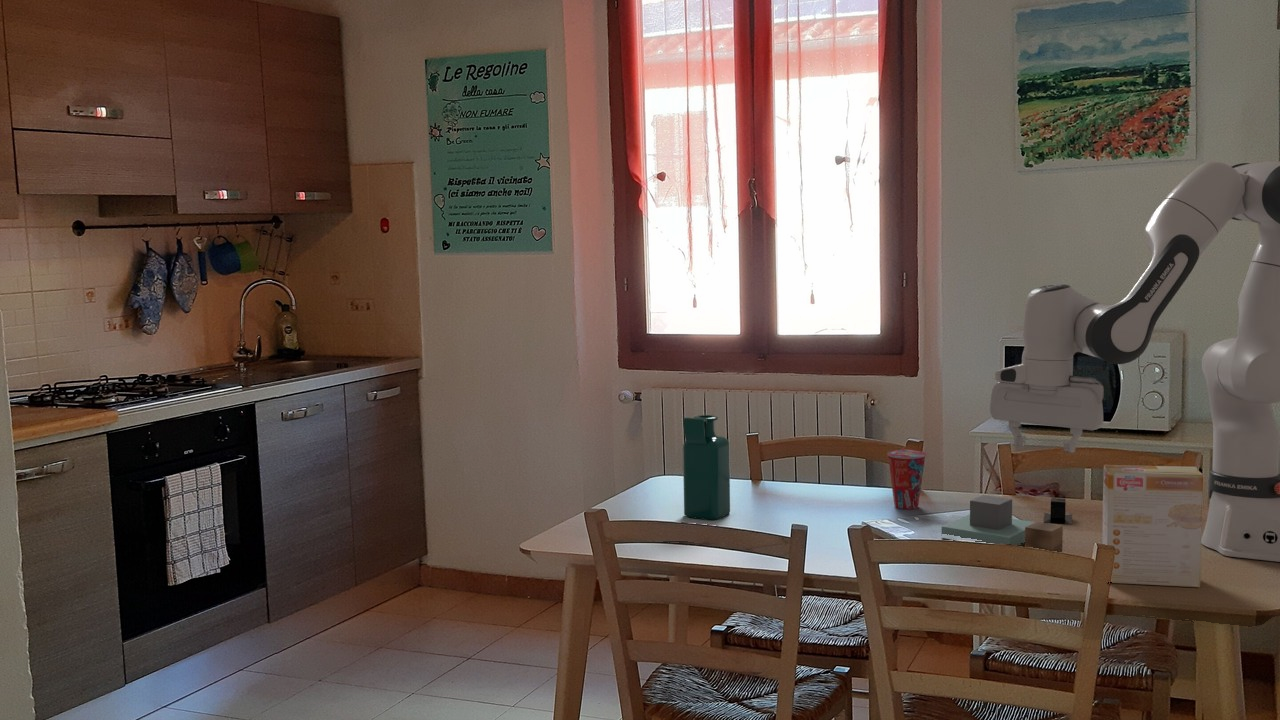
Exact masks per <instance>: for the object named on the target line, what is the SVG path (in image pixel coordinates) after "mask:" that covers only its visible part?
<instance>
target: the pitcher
mask: <svg viewBox="0 0 1280 720" xmlns="http://www.w3.org/2000/svg"><path fill="white" fill-rule="evenodd" d="M718 420H719V417H718V416H717V415H713V414H700V415H696V416H694V417H684V418H683V431H684V432H683V433H684V439H685V440H684V442H683V444H682V460H683V461H682V465H683V466H682V467H683V469H682V470H683V472H682V473H683V474H682V475H683V514H684V516H685V517H686V518H690V519H699V520H707V521H716V520H719V519H721V518H723V517H725V516H727V515H729V514H730V512H731V484H730V481H731V477H730V473H731V472H730V471H731V469H730V466H731V465H730V443H729V440H728V439H727V438H726V437H724V436H722V435H716V433H715V421H718Z"/></svg>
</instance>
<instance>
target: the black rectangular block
mask: <svg viewBox="0 0 1280 720" xmlns="http://www.w3.org/2000/svg"><path fill="white" fill-rule="evenodd" d="M1066 498H1067V497H1066ZM1066 498H1064V497H1051V498H1050V512H1044V516H1043V520H1042V521H1043V522H1042V523H1047V524H1053V525H1068V526H1072V525H1073V524H1072V523H1073V521H1072V520H1073V513H1072V514H1071V513H1066V510H1067V509H1066V508H1067V507H1066V506H1067V499H1066Z"/></svg>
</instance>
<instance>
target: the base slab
mask: <svg viewBox="0 0 1280 720" xmlns="http://www.w3.org/2000/svg"><path fill="white" fill-rule="evenodd" d="M1035 522H1036V521H1029V520H1023V519H1017V518H1016V519H1015V518H1012V524H1011V525H1009V526H1006V527H1004V528H1002V529H1000V530H995V529H989V528H983V527H977V526H970V514H968V515H965V516H963V517H960V518H958V519H955V520H953V521H951V522H949V523H947V524H943V525H942V526H941V535H942V534H947V535H948V534H949V535H954V536H960V537H961V538H971V539H977V540H982V541H975V542H986V543H1003V544H1011V545H1019V546H1021V545H1022V544H1020V543H1023V544H1025V543H1024V541H1025V527H1027V526H1029V525H1031V524H1033V523H1035Z"/></svg>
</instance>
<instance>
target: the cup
mask: <svg viewBox="0 0 1280 720" xmlns="http://www.w3.org/2000/svg"><path fill="white" fill-rule="evenodd" d="M886 455H887V456H888V466H889V473H890V482H891V488H892V496H893V497H892V498H893V504H894V508H895V509H900V510H915V509H918V508H919V504H920V498H921V491H922V483H923V477H924V476H923V474H924V466H925V459H926V456H927V453H926V452H923V451H919V450H913V449H895V450H891V451H887V453H886Z"/></svg>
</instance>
